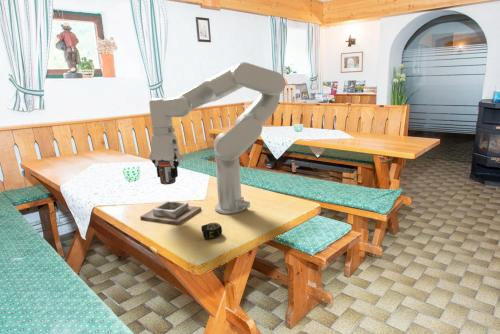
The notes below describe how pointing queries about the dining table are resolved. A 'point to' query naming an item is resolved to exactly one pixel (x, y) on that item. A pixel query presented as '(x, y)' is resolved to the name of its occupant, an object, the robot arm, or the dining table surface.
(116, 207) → the dining table surface
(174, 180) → the supplement bottle
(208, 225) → the tape measure
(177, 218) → the holder
